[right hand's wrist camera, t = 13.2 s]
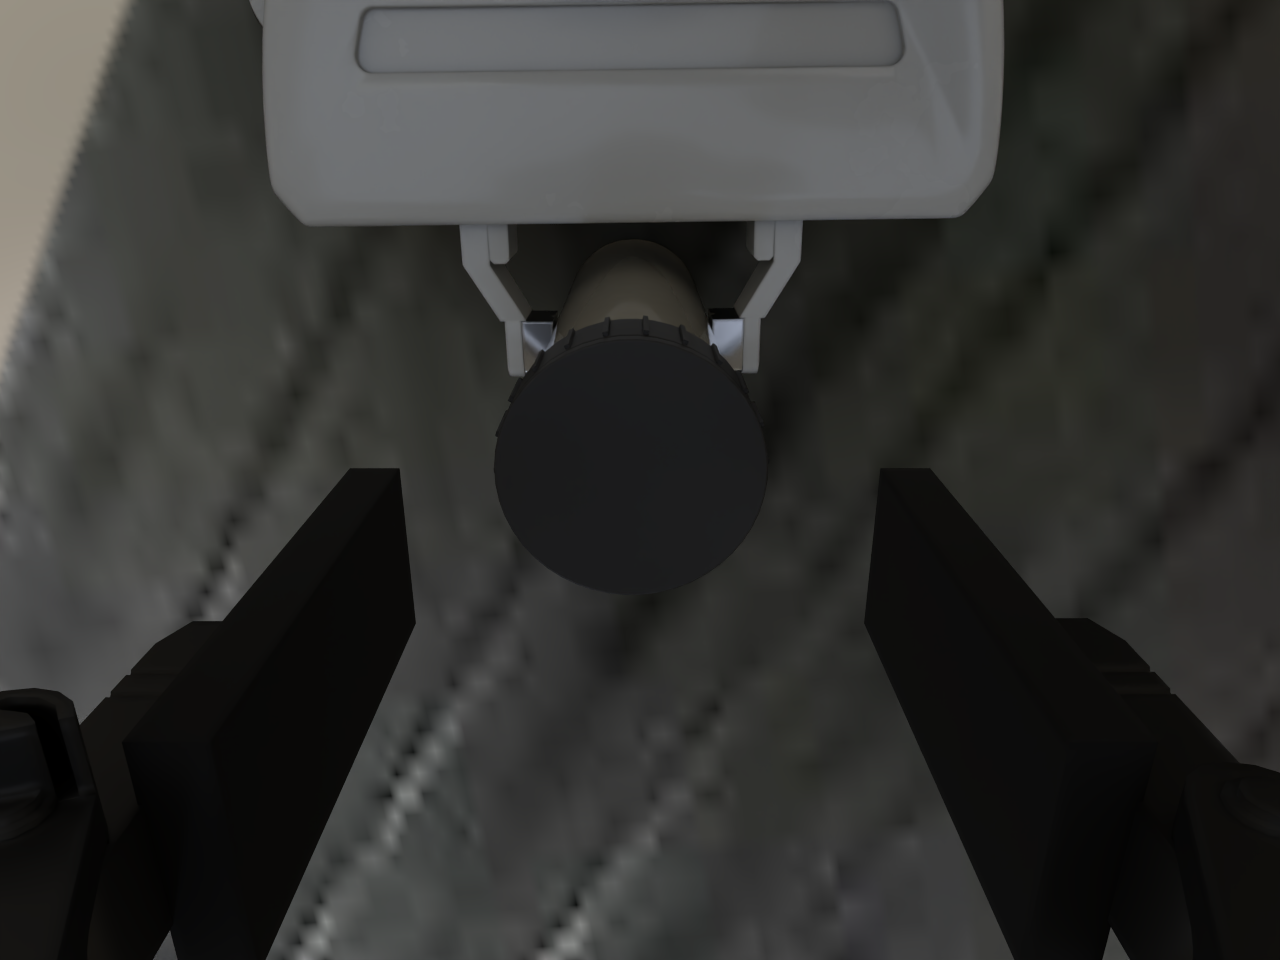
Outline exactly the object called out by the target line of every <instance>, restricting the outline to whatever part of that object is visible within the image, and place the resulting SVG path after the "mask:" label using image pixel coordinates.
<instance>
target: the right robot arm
mask: <svg viewBox="0 0 1280 960" xmlns="http://www.w3.org/2000/svg"><path fill="white" fill-rule="evenodd" d="M415 624H416V621H415V611H414V602H413V592H412V583H411V573H410V564H409V554H408V545H407V535H406V526H405V516H404V507H403V497H402V488H401V478H400V469H399V468H350V469H349V470H348V471H347V473H346V474H345V475H344V476H343V477H342V479H341V480H340V481H339V482H338V483H337V485H336V486H335V487H334V488H333V489H332V491H331V492H330V493H329V494H328V495H327V497H326V498H325V499H324V500H323V501H322V503H321V504H320V505H319V506H318V507H317V509H316V510H315V511H314V512H313V513H312V515H311V516H310V517H309V518H308V519H307V521H306V522H305V523H304V524H303V525H302V527H301V528H300V529H299V530H298V531H297V533H296V534H295V535H294V536H293V537H292V539H291V540H290V541H289V542H288V543H287V545H286V546H285V547H284V548H283V549H282V551H281V552H280V553H279V554H278V555H277V557H276V558H275V559H274V560H273V561H272V563H271V564H270V565H269V566H268V567H267V569H266V570H265V571H264V572H263V573H262V574H261V576H260V577H259V578H258V579H257V580H256V582H255V583H254V584H253V585H252V586H251V588H250V589H249V590H248V591H247V592H246V594H245V595H244V596H243V597H242V598H241V600H240V601H239V602H238V603H237V604H236V606H235V607H234V608H233V609H232V610H231V612H230V613H229V614H228V615H227V616H226V618H225V619H224V620H223V621H192V622H191V623H189V624H187V625H186V626H184V627H182V628H181V629H179V630H177V631H176V632H174V633H172V634H171V635H169V636H167V637H166V638H164V639H162V640H161V641H159V642H157V643H156V644H155V645H154V646H153V647H152V648H151V649H150V650H149V651H148V652H147V653H146V654H145V655H144V656H143V658H142V659H141V660H140V661H139V662H138V663H137V664H136V665H135V666H134V667H133V668H132V669H131V675H126V676H125V677H124V678H123V679H122V680H121V681H120V682H119V683H118V685H117V686H116V687H115V688H114V689H113V690H112V691H111V696H110V697H105V699H104V700H103V701H102V702H101V703H100V704H99V705H98V706H97V707H96V708H95V709H94V710H93V711H92V713H91V714H90V715H89V716H88V717H87V718H86V719H85V720H84V721H83V722H82V723H81V724H80V725H79V722H78V718H77V715H76V711H75V707H74V704H73V701H72V700H70V699H69V698H67V697H66V696H64V695H63V694H62V693H60V692H58V691H51V690H45V689H38V688H29V689H19V690H8V691H1V692H0V960H153V958H154V956H155V955H156V953H157V951H158V950H159V948H160V946H161V944H162V943H163V941H164V939H165V938H166V936H167V934H168V932H169V931H171V935H172V939H173V943H174V947H175V951H176V955H177V959H178V960H266V957H267V955H268V953H269V951H270V949H271V946H272V944H273V942H274V940H275V937H276V935H277V933H278V931H279V928H280V926H281V924H282V922H283V919H284V917H285V915H286V913H287V910H288V908H289V906H290V904H291V901H292V899H293V897H294V895H295V893H296V890H297V888H298V886H299V884H300V881H301V879H302V877H303V875H304V872H305V870H306V868H307V866H308V863H309V861H310V859H311V857H312V854H313V852H314V850H315V848H316V846H317V843H318V841H319V839H320V837H321V834H322V832H323V830H324V828H325V825H326V823H327V821H328V819H329V816H330V814H331V812H332V810H333V807H334V805H335V803H336V801H337V798H338V796H339V794H340V792H341V790H342V787H343V785H344V783H345V781H346V778H347V776H348V774H349V772H350V769H351V767H352V765H353V763H354V760H355V758H356V756H357V754H358V751H359V749H360V747H361V745H362V743H363V740H364V738H365V736H366V734H367V731H368V729H369V727H370V725H371V722H372V720H373V718H374V716H375V713H376V711H377V709H378V707H379V704H380V702H381V700H382V698H383V695H384V693H385V691H386V689H387V687H388V684H389V682H390V680H391V678H392V675H393V673H394V671H395V669H396V666H397V664H398V662H399V660H400V657H401V655H402V653H403V651H404V648H405V646H406V644H407V642H408V640H409V637H410V635H411V633H412V631H413V628H414V626H415ZM864 624H865V626H866V628H867V631H868V633H869V635H870V637H871V640H872V642H873V644H874V646H875V648H876V651H877V653H878V655H879V657H880V660H881V662H882V664H883V666H884V669H885V671H886V673H887V675H888V678H889V680H890V682H891V684H892V687H893V689H894V691H895V693H896V695H897V698H898V700H899V702H900V704H901V707H902V709H903V711H904V713H905V716H906V718H907V720H908V722H909V725H910V727H911V729H912V731H913V734H914V736H915V738H916V740H917V743H918V745H919V747H920V749H921V751H922V754H923V756H924V758H925V760H926V763H927V765H928V767H929V769H930V772H931V774H932V776H933V778H934V781H935V783H936V785H937V787H938V790H939V792H940V794H941V796H942V798H943V801H944V803H945V805H946V807H947V810H948V812H949V814H950V816H951V819H952V821H953V823H954V825H955V828H956V830H957V832H958V834H959V837H960V839H961V841H962V843H963V846H964V848H965V850H966V852H967V854H968V857H969V859H970V861H971V863H972V866H973V868H974V870H975V872H976V875H977V877H978V879H979V881H980V884H981V886H982V888H983V890H984V893H985V895H986V897H987V899H988V901H989V904H990V906H991V908H992V910H993V913H994V915H995V917H996V919H997V922H998V924H999V926H1000V928H1001V931H1002V933H1003V935H1004V937H1005V940H1006V942H1007V944H1008V946H1009V949H1010V951H1011V953H1012V955H1013V957H1014V960H1102V959H1103V955H1104V951H1105V947H1106V943H1107V939H1108V935H1109V931H1110V928H1112V929H1113V931H1114V933H1115V935H1116V936H1117V938H1118V940H1119V941H1120V943H1121V945H1122V947H1123V948H1124V950H1125V952H1126V953H1127V955H1128V957H1129V959H1130V960H1280V773H1279V772H1276V771H1272V770H1269V769H1266V768H1263V767H1259V766H1256V765H1250V764H1240V763H1239V762H1238V761H1237V760H1236V759H1235V758H1234V756H1233V755H1232V754H1231V753H1230V752H1229V751H1228V750H1227V749H1226V748H1225V747H1224V746H1223V745H1222V744H1221V743H1220V741H1219V740H1218V739H1217V738H1216V737H1215V736H1214V735H1213V734H1212V733H1211V732H1210V731H1209V730H1208V729H1207V728H1206V726H1205V725H1204V724H1203V723H1202V722H1201V721H1200V720H1199V719H1198V718H1197V717H1196V716H1195V715H1194V714H1193V713H1192V711H1191V710H1190V709H1189V708H1188V707H1187V706H1186V705H1185V704H1184V703H1183V702H1182V701H1181V700H1180V699H1179V698H1178V697H1177V695H1176V694H1171V693H1170V688H1169V687H1168V686H1167V685H1166V684H1165V683H1164V682H1163V680H1162V679H1161V678H1160V677H1159V676H1158V675H1157V674H1156V673H1155V672H1150V667H1149V665H1148V664H1147V663H1146V662H1145V661H1144V660H1143V659H1142V658H1141V657H1140V656H1139V655H1138V654H1137V653H1136V652H1135V650H1134V649H1133V648H1132V647H1131V646H1130V645H1129V644H1128V643H1127V642H1126V641H1125V640H1123V639H1122V638H1120V637H1118V636H1117V635H1115V634H1113V633H1112V632H1110V631H1108V630H1107V629H1105V628H1103V627H1101V626H1100V625H1098V624H1096V623H1095V622H1093V621H1091V620H1090V619H1088V618H1054V616H1053V615H1052V614H1051V613H1050V612H1049V610H1048V609H1047V608H1046V607H1045V606H1044V604H1043V603H1042V602H1041V601H1040V600H1039V598H1038V597H1037V596H1036V595H1035V594H1034V592H1033V591H1032V590H1031V589H1030V588H1029V586H1028V585H1027V584H1026V583H1025V582H1024V580H1023V579H1022V578H1021V577H1020V576H1019V574H1018V573H1017V572H1016V571H1015V570H1014V569H1013V567H1012V566H1011V565H1010V564H1009V563H1008V561H1007V560H1006V559H1005V558H1004V557H1003V555H1002V554H1001V553H1000V552H999V551H998V549H997V548H996V547H995V546H994V545H993V543H992V542H991V541H990V540H989V539H988V537H987V536H986V535H985V534H984V533H983V531H982V530H981V529H980V528H979V527H978V525H977V524H976V523H975V522H974V521H973V519H972V518H971V517H970V516H969V515H968V513H967V512H966V511H965V510H964V509H963V507H962V506H961V505H960V504H959V503H958V501H957V500H956V499H955V498H954V497H953V495H952V494H951V493H950V492H949V491H948V489H947V488H946V487H945V486H944V485H943V483H942V482H941V481H940V480H939V479H938V477H937V476H936V475H935V474H934V473H933V471H932V470H931V469H930V468H881V469H880V478H879V488H878V497H877V507H876V516H875V526H874V535H873V545H872V554H871V564H870V573H869V583H868V592H867V602H866V611H865V621H864Z"/></svg>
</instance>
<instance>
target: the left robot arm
mask: <svg viewBox="0 0 1280 960" xmlns="http://www.w3.org/2000/svg"><path fill="white" fill-rule="evenodd" d="M249 1H250V4H251V7H252V10H253V13H254V15H255V17H256V19H257V21H258V22H259V24H260V25H261V27H262V28H263V39H262V76H263V108H264V123H265V138H266V148H267V159H268V168H269V175H270V181H271V185H272V188H273V191H274V193H275V194H276V196H277V197H278V198H279V199H280V201H281V202H282V203H283V204H284V205H285V206H286V207H287V208H288V209H289V211H290V212H291V213H292V214H293V215H294V216H295V217H296V218H297V219H298V220H299V221H300V222H301V223H302V224H304V225H306V226H309V227H350V226H422V225H459V227H460V239H461V250H462V262H463V266H464V268H465V269H466V271H467V272H468V274H469V275H470V277H471V278H472V280H473V281H474V283H475V284H476V286H477V287H478V289H479V290H480V292H481V293H482V295H483V296H484V298H485V299H486V301H487V302H488V304H489V305H490V307H491V308H492V310H493V311H494V313H495V314H496V316H497V317H498V318H499V320H500V321H503V322H505V333H506V348H507V362H508V371H509V375H510V376H523V377H524V376H525V375H526V373H527V372H528V371H529V369H530V368H531V366H532V365H533V364H534V362H535V360H536V358H537V355H538V353H539V352H540V351H541V350H542V349H543V350H544V351H545V350H546V348H547V345H548V343H549V341H550V338H551V336H552V333H553V331H554V328H555V326H556V323H557V321H558V311H532V308H531V306H530V305H529V303H528V302H527V300H526V298H525V297H524V295H523V293H522V292H521V290H520V288H519V287H518V285H517V284H516V282H515V280H514V279H513V277H512V275H511V274H510V272H509V271H508V269H507V267H506V266H505V264H506V263H507V262H508V261H509V260H510V259H511V258H512V257H513V256H514V255H515V254H516V253H517V252H518V238H517V224H566V223H638V222H710V221H746V248H747V249H748V251H749V252H750V253H751V254H752V255H753V256H754V257H755V258H756V259H757V260H758V261H759V263H758V264H757V266H756V268H755V270H754V271H753V273H752V275H751V277H750V278H749V280H748V282H747V283H746V285H745V287H744V289H743V290H742V292H741V294H740V296H739V297H738V299H737V301H736V302H735V304H734V308H712V309H708V321H709V324H710V326H711V329H712V332H713V334H714V337H715V340H716V342H717V345H718V348H719V351H720V353H721V355H722V356H723V357H724V358H725V359H726V360H727V361H728V363H729V364H730V365H731V367H732V368H733V369H734V370H735V372H736V371H737V370H739V371H740V372H741V373H757V371H758V366H759V350H760V322H761V318H765V317H766V315H767V314H768V312H769V310H770V309H771V307H772V306H773V304H774V302H775V301H776V299H777V298H778V296H779V295H780V293H781V291H782V290H783V288H784V287H785V285H786V283H787V282H788V280H789V279H790V277H791V276H792V274H793V272H794V271H795V269H796V268H797V266H798V264H799V263H800V261H801V245H802V227H803V220H854V219H925V218H956V217H960V216H961V215H963V214H964V213H965V212H966V211H967V210H968V209H969V208H970V207H971V206H972V205H973V204H974V203H975V201H976V200H977V199H978V198H979V197H980V195H981V194H982V193H983V192H984V190H985V189H986V188H987V187H988V185H989V184H990V182H991V180H992V178H993V175H994V172H995V167H996V161H997V154H998V147H999V137H1000V127H1001V114H1002V100H1003V80H1004V4H1003V0H249Z"/></svg>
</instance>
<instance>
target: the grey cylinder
mask: <svg viewBox="0 0 1280 960" xmlns="http://www.w3.org/2000/svg"><path fill="white" fill-rule="evenodd" d="M643 315H644V316H648V320H654V321H658V322H662V323H667V324H671V325H673V326H676V327H678V328H679V326H680V324H681V325H684V326H685V328H686V331H688V332H690V333H692V334H693V335H695V336H697V337H699V338H701V339H702V340H704V341H705V342H706V343H708V344H709V345H710V346H711V345H712V344H713V343H714V344H715V345H717V342H716V340H715V337H714V334H713V332H712V329H711V326H710V324H709V321H708V318H707V315H706V313H705V310H704V307H703V305H702V302H701V299H700V296H699V294H698V291H697V288H696V286H695V283H694V280H693V278H692V276H691V274H690V272H689V270H688V268H687V267H686V266H685V264H684V263H683V262H682V261H681V260H680V259H679V258H678V257H677V256H676V255H675V254H674V253H673V252H671V251H670V250H668V249H667V248H665V247H663V246H661V245H659V244H656V243H654V242H650V241H646V240H639V239H627V240H621V241H617V242H614V243H611V244H608V245H606V246H604V247H602V248H601V249H599V250H597V251H596V252H595V253H594V254H592V255H591V256H590V257H589V258H588V259H587V260H586V261H585V262H584V263H583V265H582V266H581V268H580V269H579V271H578V273H577V275H576V277H575V279H574V281H573V284H572V286H571V289H570V291H569V294H568V296H567V299H566V301H565V304H564V306H563V308H562V311H561V313H560V316H559V318H558V321H557V323H556V326H555V328H554V331H553V333H552V336H551V338H550V341H549V343H548V345H547V348H546V350H548V349H549V348H550V347H551V346H553V345H554V344H555V343H556V342H558V341H559V340H561V339H562V338H564V337H566V336H567V335H568V331H569V330H570V329H572V328H574V330H575V331H577V330H579V329H582V328H584V327H586V326H589V325H593V324H596V323H600V322H603V321H604V319H605V317H610V320H617V319H643ZM717 347H718V345H717ZM546 350H545V351H546ZM718 350H719V348H718ZM719 353H720V351H719ZM720 354H721V353H720Z"/></svg>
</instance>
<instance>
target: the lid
mask: <svg viewBox="0 0 1280 960" xmlns="http://www.w3.org/2000/svg"><path fill="white" fill-rule="evenodd" d="M747 393H749V391H748V388H747V386H746V383H745V381H744V379H743V376H742V374H741V372H740V371H739V370H737V371H736V372H735V370H734V369H733V368H732V367H731V365H730V364H729V363H728V361H727V360H726V359H725V358H724V357H723V356H722V355H721V354H720V353H719V350H718V347H717V345H715V344H714V343H713V344H712V345H711V346H710V345H709V344H708V343H706V342H705V341H704V340H702V339H701V338H699V337H697V336H695V335H693V334H692V333H690V332H688V331H686V328H685V326H684V325H681V324H680V326H679V328H678V327H676V326H673V325H671V324H667V323H662V322H658V321H654V320H648V316H644V315H643V319H617V320H610V317H605V319H604V321H603V322H600V323H596V324H593V325H589V326H586V327H584V328H582V329H579V330H577V331H575V330H574V328H572V329H570V330H569V331H568V335H567V336H566V337H564V338H562V339H561V340H559V341H558V342H556V343H555V344H554V345H553V346H551V347H550V348H549V349H548V350H546V351H544V350H543V349H542V350H541V351H540V352H539V353H538V355H537V358H536V360H535V362H534V364H533V365H532V366H531V368H530V369H529V371H528V372H527V373H526V375H525V376H524V378H523V379H521V378H519V379H518V380H517V382H516V384H515V387H514V389H513V391H512V393H511V395H510V397H509V399H508V401H509V402H511V404H510V407H509V409H508V411H507V410H506V412H505V414H504V416H503V418H502V420H501V423H500V425H499V427H498V429H497V431H496V437H498V439H497V444H496V449H495V462H494V473H495V484H496V489H497V493H498V498H499V502H500V504H501V507H502V510H503V512H504V515H505V517H506V519H507V521H508V523H509V525H510V527H511V529H512V530H513V532H514V533H515V535H516V536H517V538H518V539H519V540H520V542H521V543H522V545H523V546H524V547H525V548H526V549H527V550H528V551H529V552H530V553H531V554H532V555H533V556H534V557H535V558H536V559H537V560H538V561H540V562H541V563H542V564H543V565H544V566H546V567H547V568H548V569H550V570H551V571H553V572H554V573H556V574H558V575H559V576H561V577H563V578H565V579H567V580H569V581H571V582H573V583H575V584H577V585H580V586H583V587H586V588H589V589H592V590H596V591H601V592H606V593H612V594H622V595H643V594H650V593H658V592H662V591H666V590H670V589H674V588H677V587H680V586H682V585H685V584H687V583H690V582H692V581H694V580H696V579H698V578H700V577H702V576H704V575H705V574H707V573H708V572H710V571H711V570H713V569H714V568H716V567H717V566H718V565H720V564H721V563H722V562H723V561H724V560H725V559H726V558H728V557H729V556H730V555H731V554H732V553H733V552H734V551H735V550H736V548H737V547H738V546H739V545H740V544H741V543H742V541H743V540H744V539H745V537H746V536H747V534H748V532H749V531H750V529H751V528H752V526H753V524H754V522H755V520H756V518H757V516H758V514H759V512H760V508H761V505H762V502H763V499H764V496H765V490H766V485H767V477H768V464H769V457H768V455H767V449H766V443H765V439H764V435H763V431H762V427H765V426H764V422H763V420H762V418H761V415H760V413H759V411H758V408H757V406H756V404H755V402H752V403H751V401H750V399H749V396H748V394H747Z"/></svg>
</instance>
